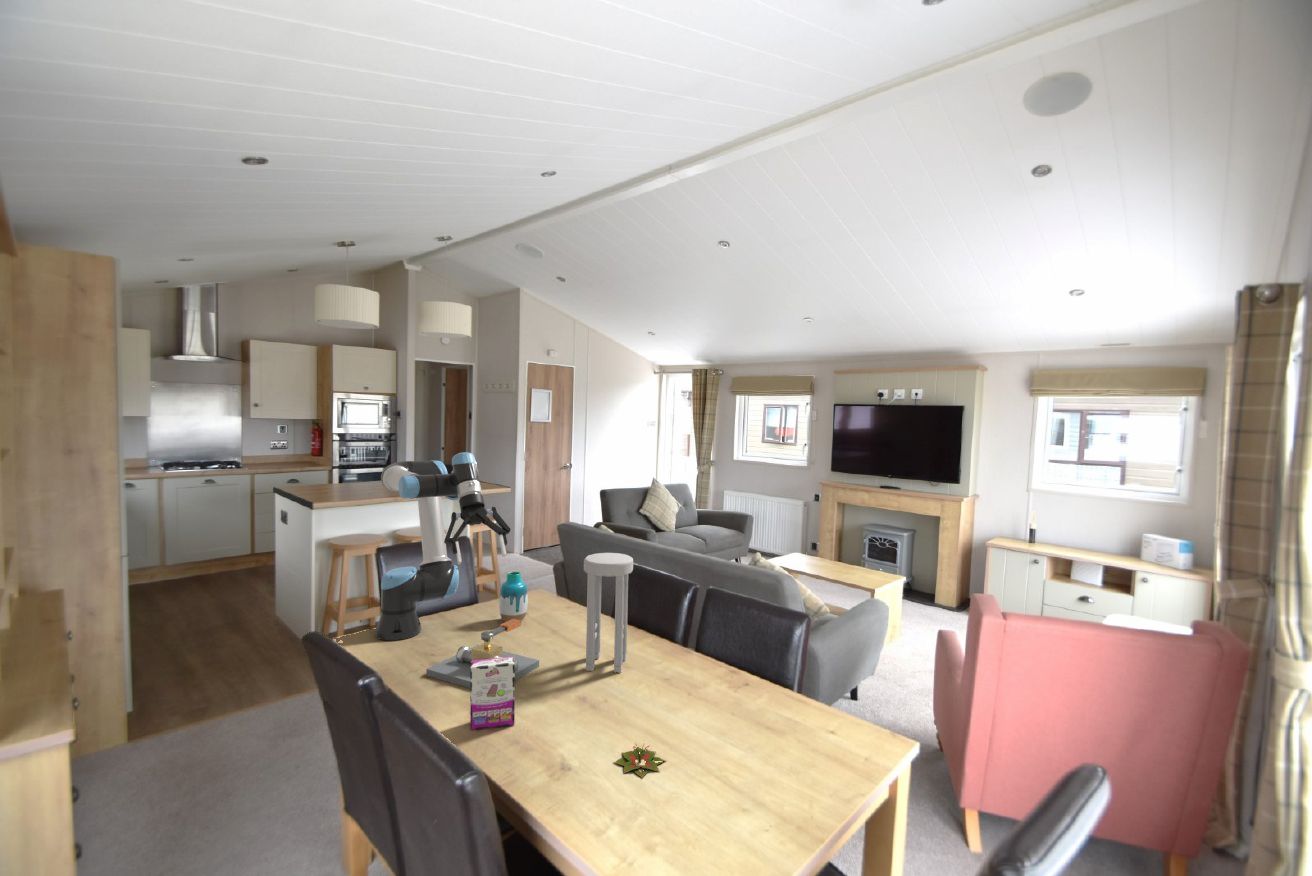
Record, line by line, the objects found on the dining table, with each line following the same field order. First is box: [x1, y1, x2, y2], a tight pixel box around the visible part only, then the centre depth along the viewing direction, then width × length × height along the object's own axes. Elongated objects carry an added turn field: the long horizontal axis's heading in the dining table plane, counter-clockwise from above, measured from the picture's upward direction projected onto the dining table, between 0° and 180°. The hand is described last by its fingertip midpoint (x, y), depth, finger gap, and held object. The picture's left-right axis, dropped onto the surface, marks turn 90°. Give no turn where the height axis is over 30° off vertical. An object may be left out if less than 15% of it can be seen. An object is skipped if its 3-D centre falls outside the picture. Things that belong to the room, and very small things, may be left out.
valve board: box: [425, 644, 540, 689], centre depth 184 cm, size 26×22×2 cm
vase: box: [499, 571, 529, 623], centre depth 228 cm, size 11×11×19 cm
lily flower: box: [612, 742, 666, 779], centre depth 137 cm, size 12×12×5 cm
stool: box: [583, 552, 634, 674], centre depth 191 cm, size 16×16×35 cm
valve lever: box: [480, 619, 522, 642], centre depth 188 cm, size 4×16×2 cm, turn 154°
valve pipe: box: [455, 640, 519, 673], centre depth 183 cm, size 21×6×9 cm, turn 64°
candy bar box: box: [469, 657, 516, 731], centre depth 153 cm, size 11×5×16 cm, turn 105°
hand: (482, 559), depth 182 cm, fingers open, 13 cm apart
